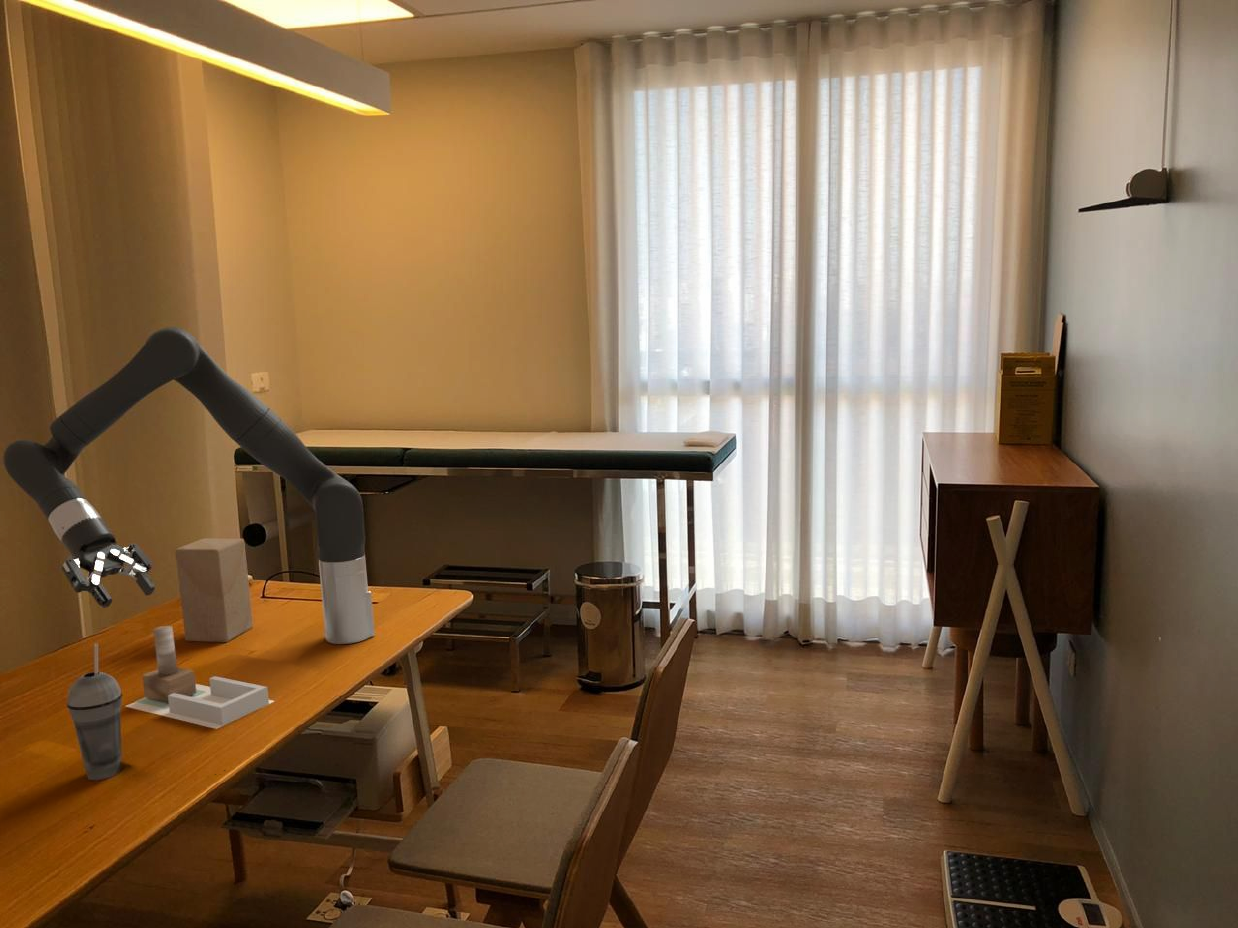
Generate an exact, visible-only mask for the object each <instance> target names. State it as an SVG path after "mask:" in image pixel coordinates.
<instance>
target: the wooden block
mask: <svg viewBox="0 0 1238 928" xmlns="http://www.w3.org/2000/svg"><path fill="white" fill-rule="evenodd" d="M174 552H175V553H174V554H175V562H176V569H177V579H178V580H177V581H178V587H179V597H180V606H181V614H182V622H183V631H184V639H185V641H187V642H211V643H212V642H213V643H214V642H215V643H228V642H230V641H231V640H233V639H234V638H236V637H238V636H240V635H241V634H244V633H245V632H248V631H249V630H251V629H252V628H253V627H254V620H253V613H252V612H253V611H252V601H251V595H250V585H249V584H250V583H249V574H248V573H249V572H248V565H247V556H246V555H247V554H246V545H245V540H244V538H223V537H222V538H221V537H220V538H219V537H218V538H217V537H216V538H215V537H213V538H210V537H209V538H208V537H207V538H206V537H205V538H201V539H199V540H196V541H194V542H190V543H188V544H185V545H183V546H181V547H178V548H175V550H174Z"/></svg>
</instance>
